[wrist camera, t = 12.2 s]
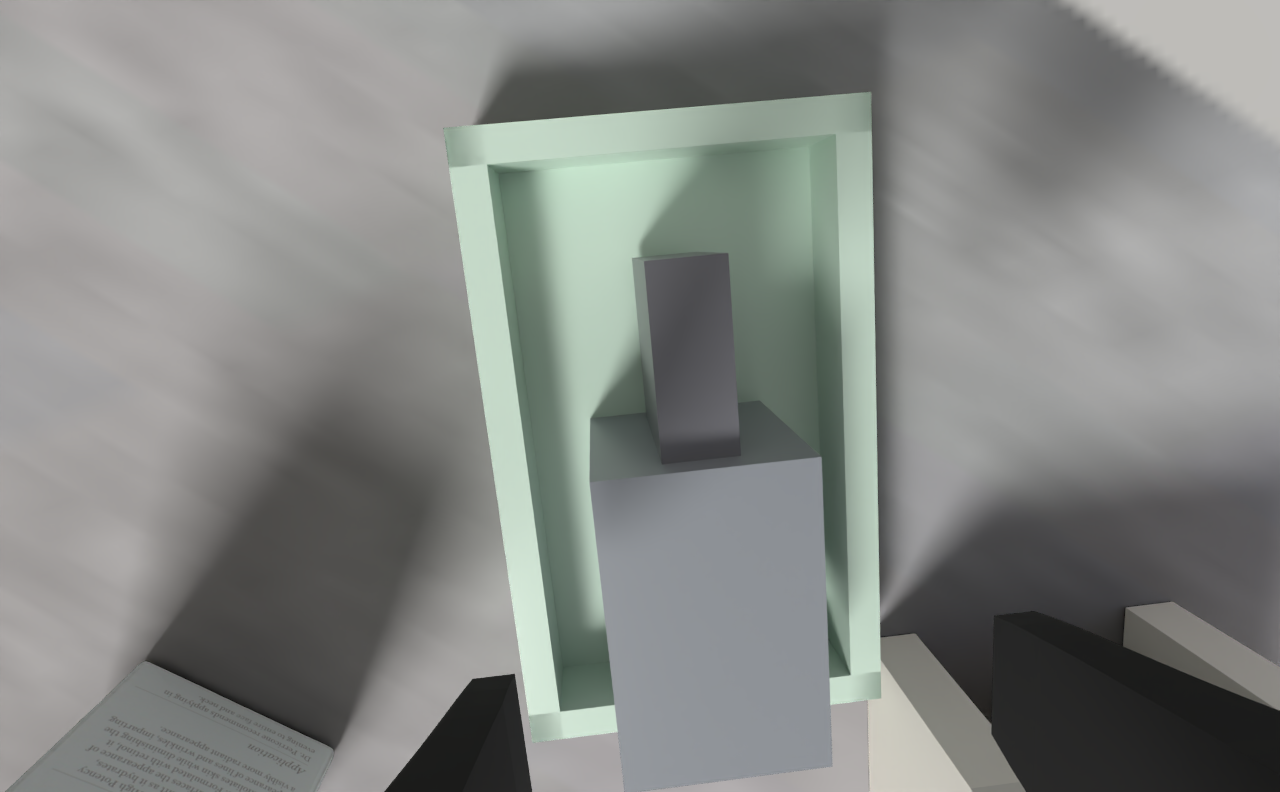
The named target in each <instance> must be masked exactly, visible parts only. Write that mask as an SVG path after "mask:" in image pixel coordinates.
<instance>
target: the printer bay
mask: <svg viewBox="0 0 1280 792" xmlns="http://www.w3.org/2000/svg"><path fill="white" fill-rule="evenodd" d="M1123 647H1126V648H1128V649H1130V650H1133V651H1135V652H1137V653H1140V654H1142V655H1144V656H1147V657H1149V658H1151V659H1154V660H1156V661H1158V662H1161V663H1163V664H1165V665H1168V666H1170V667H1173V668H1175V669H1177V670H1180V671H1182V672H1184V673H1187V674H1189V675H1192V676H1194V677H1196V678H1199V679H1201V680H1204V681H1206V682H1208V683H1211V684H1213V685H1216V686H1218V687H1221V688H1223V689H1226V690H1228V691H1231V692H1233V693H1236V694H1238V695H1241V696H1243V697H1246V698H1248V699H1251V700H1253V701H1256V702H1259V703H1261V704H1264V705H1266V706H1269V707H1272V708H1274V709H1277V710H1280V667H1279V666H1277V665H1276V664H1274V663H1272V662H1271V661H1269V660H1267V659H1266V658H1264V657H1262V656H1261V655H1259V654H1258V653H1256V652H1254V651H1253V650H1251V649H1249V648H1248V647H1246V646H1244V645H1243V644H1241V643H1240V642H1238V641H1236V640H1235V639H1233V638H1231V637H1230V636H1228V635H1226V634H1225V633H1223V632H1222V631H1220V630H1218V629H1217V628H1215V627H1213V626H1212V625H1210V624H1208V623H1207V622H1205V621H1203V620H1202V619H1200V618H1199V617H1197V616H1195V615H1194V614H1192V613H1190V612H1189V611H1187V610H1185V609H1184V608H1182V607H1181V606H1179V605H1177V604H1176V603H1174V602H1166V603H1158V604H1150V605H1142V606H1134V607H1126V610H1125V624H1124V638H1123ZM880 656H881V698H880V699H872V700H868V739H869V786H870V792H1026V791H1025V789H1024V788H1023V786H1022V785H1021V783H1020V782H1019V780H1018V778H1017V777H1016V775H1015V774H1014V772H1013V770H1012V769H1011V767H1010V765H1009V764H1008V762H1007V760H1006V758H1005V757H1004V755H1003V753H1002V752H1001V750H1000V748H999V746H998V745H997V743H996V741H995V740H994V738H993V736H992V734H991V726H992V725H991V724H990V722H989V721H988V720H987V719H986V718H985V716H984V715H983V714H982V713H981V712H980V710H979V709H978V708H977V707H976V706H975V704H974V703H973V702H972V701H971V700H970V698H969V697H968V696H967V695H966V694H965V692H964V691H963V690H962V689H961V688H960V686H959V685H958V684H957V683H956V682H955V680H954V679H953V678H952V677H951V676H950V675H949V673H948V672H947V671H946V670H945V669H944V667H943V666H942V665H941V664H940V663H939V661H938V660H937V659H936V658H935V657H934V655H933V654H932V653H931V652H930V651H929V649H928V648H927V647H926V646H925V645H924V643H923V642H922V641H921V640H920V639H919V637H918V636H917V635H916V634H915V633H914V634H906V635H898V636H890V637H882V638H880Z"/></svg>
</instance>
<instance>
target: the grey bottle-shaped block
mask: <svg viewBox="0 0 1280 792" xmlns="http://www.w3.org/2000/svg"><path fill="white" fill-rule="evenodd" d="M632 265H633V276H634V287H635V298H636V309H637V319H638V330H639V341H640V352H641V363H642V374H643V384H644V395H645V406H646V413H636V414H627V415H617V416H608V417H598V418H590V472H589V484H590V492H591V501H592V510H593V519H594V528H595V536H596V545H597V554H598V563H599V572H600V580H601V589H602V598H603V607H604V616H605V624H606V633H607V642H608V651H609V660H610V668H611V677H612V686H613V695H614V704H615V712H616V721H617V730H618V739H619V748H620V756H621V765H622V774H623V783H624V792H642V791H650V790H657V789H665V788H672V787H680V786H688V785H695V784H703V783H710V782H718V781H726V780H733V779H741V778H748V777H756V776H764V775H771V774H779V773H786V772H794V771H802V770H809V769H817V768H824V767H832V737H831V709H830V680H829V652H828V624H827V595H826V567H825V538H824V510H823V481H822V457H821V456H820V455H819V454H818V453H817V452H816V451H815V450H814V449H812V448H811V447H810V446H809V445H808V444H807V443H806V442H805V441H804V440H803V439H802V438H800V437H799V436H798V435H797V434H796V433H795V432H794V431H793V430H792V429H791V428H789V427H788V426H787V425H786V424H785V423H784V422H783V421H782V420H781V419H780V418H778V417H777V416H776V415H775V414H774V413H773V412H772V411H771V410H770V409H769V408H768V407H766V406H765V405H764V404H763V403H762V402H761V401H760V400H759V401H750V402H740V403H738V399H737V383H736V367H735V351H734V335H733V319H732V303H731V286H730V270H729V254H728V253H715V252H689V253H678V254H668V255H657V256H647V257H636V258H632Z"/></svg>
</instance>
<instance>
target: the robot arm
mask: <svg viewBox="0 0 1280 792" xmlns="http://www.w3.org/2000/svg"><path fill="white" fill-rule="evenodd" d="M991 734H992V736H993V738H994V740H995V741H996V743H997V745H998V746H999V748H1000V750H1001V752H1002V753H1003V755H1004V757H1005V758H1006V760H1007V762H1008V764H1009V765H1010V767H1011V769H1012V770H1013V772H1014V774H1015V775H1016V777H1017V778H1018V780H1019V782H1020V783H1021V785H1022V786H1023V788H1024V789H1025V791H1026V792H1280V710H1277V709H1274V708H1272V707H1269V706H1266V705H1264V704H1261V703H1259V702H1256V701H1253V700H1251V699H1248V698H1246V697H1243V696H1241V695H1238V694H1236V693H1233V692H1231V691H1228V690H1226V689H1223V688H1221V687H1218V686H1216V685H1213V684H1211V683H1208V682H1206V681H1204V680H1201V679H1199V678H1196V677H1194V676H1192V675H1189V674H1187V673H1184V672H1182V671H1180V670H1177V669H1175V668H1173V667H1170V666H1168V665H1165V664H1163V663H1161V662H1158V661H1156V660H1154V659H1151V658H1149V657H1147V656H1144V655H1142V654H1140V653H1137V652H1135V651H1133V650H1130V649H1128V648H1126V647H1123V646H1121V645H1119V644H1116V643H1114V642H1112V641H1109V640H1107V639H1105V638H1102V637H1100V636H1097V635H1095V634H1093V633H1090V632H1088V631H1085V630H1083V629H1081V628H1078V627H1076V626H1073V625H1071V624H1068V623H1066V622H1063V621H1061V620H1058V619H1055V618H1052V617H1050V616H1047V615H1044V614H1041V613H1038V612H1035V611H1030V612H1022V613H1014V614H1006V615H997V616H994V641H993V683H992V726H991ZM384 792H532V788H531V781H530V775H529V768H528V761H527V754H526V748H525V741H524V734H523V727H522V721H521V714H520V707H519V700H518V694H517V687H516V680H515V674H510V675H502V676H494V677H485V678H477V679H472V681H471V682H470V683H469V684H468V685H467V687H466V688H465V689H464V690H463V692H462V693H461V694H460V695H459V697H458V698H457V699H456V701H455V702H454V703H453V705H452V706H451V707H450V709H449V710H448V711H447V713H446V714H445V715H444V717H443V718H442V719H441V721H440V722H439V723H438V725H437V726H436V727H435V729H434V730H433V731H432V733H431V734H430V735H429V736H428V738H427V739H426V740H425V742H424V743H423V744H422V746H421V747H420V748H419V749H418V751H417V752H416V753H415V754H414V756H413V757H412V758H411V759H410V761H409V762H408V763H407V764H406V766H405V767H404V768H403V769H402V771H401V772H400V773H399V774H398V776H397V777H396V778H395V779H394V780H393V782H392V783H391V784H390V785H389V787H388V788H387V789H386V790H385V791H384Z"/></svg>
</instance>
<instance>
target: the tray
mask: <svg viewBox="0 0 1280 792" xmlns="http://www.w3.org/2000/svg"><path fill="white" fill-rule="evenodd" d="M443 129H444V136H445V143H446V150H447V157H448V164H449V171H450V178H451V185H452V191H453V198H454V205H455V212H456V219H457V226H458V233H459V240H460V246H461V253H462V260H463V267H464V274H465V281H466V288H467V295H468V301H469V308H470V315H471V322H472V329H473V336H474V343H475V350H476V356H477V363H478V370H479V377H480V384H481V391H482V398H483V405H484V411H485V418H486V425H487V432H488V439H489V446H490V453H491V460H492V467H493V473H494V480H495V487H496V494H497V501H498V508H499V515H500V522H501V528H502V535H503V542H504V549H505V556H506V563H507V570H508V577H509V583H510V590H511V597H512V604H513V611H514V618H515V625H516V632H517V638H518V645H519V652H520V659H521V666H522V673H523V680H524V687H525V693H526V700H527V707H528V714H529V721H530V728H531V735H532V742H533V743H535V742H543V741H550V740H558V739H566V738H574V737H582V736H590V735H598V734H605V733H613V732H618V730H617V721H616V712H615V704H614V695H613V686H612V677H611V668H610V660H609V651H608V642H607V633H606V624H605V616H604V607H603V598H602V589H601V580H600V572H599V563H598V554H597V545H596V536H595V528H594V519H593V510H592V501H591V492H590V484H589V472H590V418H598V417H608V416H617V415H627V414H636V413H646V406H645V395H644V384H643V374H642V363H641V352H640V341H639V330H638V319H637V309H636V298H635V287H634V276H633V265H632V258H636V257H647V256H657V255H668V254H678V253H689V252H715V253H728V254H729V270H730V286H731V303H732V319H733V335H734V351H735V367H736V383H737V399H738V403H740V402H750V401H759V400H760V401H761V402H762V403H763V404H764V405H765V406H766V407H768V408H769V409H770V410H771V411H772V412H773V413H774V414H775V415H776V416H777V417H778V418H780V419H781V420H782V421H783V422H784V423H785V424H786V425H787V426H788V427H789V428H791V429H792V430H793V431H794V432H795V433H796V434H797V435H798V436H799V437H800V438H802V439H803V440H804V441H805V442H806V443H807V444H808V445H809V446H810V447H811V448H812V449H814V450H815V451H816V452H817V453H818V454H819V455H820V456H821V457H822V481H823V510H824V538H825V567H826V595H827V624H828V652H829V680H830V705H833V704H841V703H849V702H857V701H865V700H872V699H880V698H881V656H880V596H879V536H878V476H877V415H876V355H875V295H874V235H873V175H872V114H871V92H862V93H850V94H838V95H826V96H815V97H803V98H791V99H779V100H767V101H756V102H744V103H732V104H720V105H708V106H696V107H685V108H673V109H661V110H649V111H637V112H626V113H614V114H602V115H590V116H578V117H567V118H555V119H543V120H531V121H519V122H508V123H496V124H484V125H472V126H460V127H449V128H443Z"/></svg>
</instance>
